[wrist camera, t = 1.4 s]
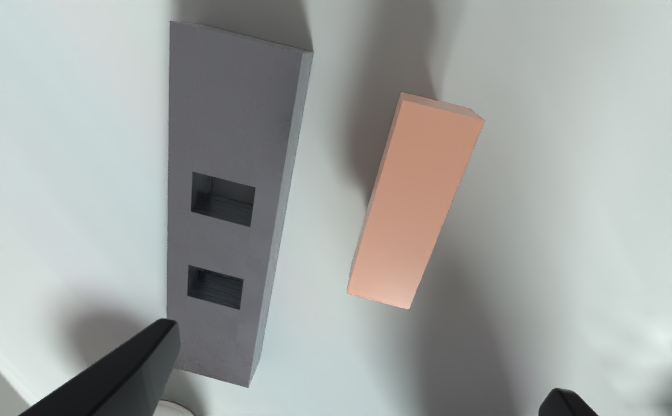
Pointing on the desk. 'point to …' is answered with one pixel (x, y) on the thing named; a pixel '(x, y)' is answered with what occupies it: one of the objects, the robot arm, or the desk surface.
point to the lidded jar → (171, 409)
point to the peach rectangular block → (411, 197)
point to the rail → (221, 213)
